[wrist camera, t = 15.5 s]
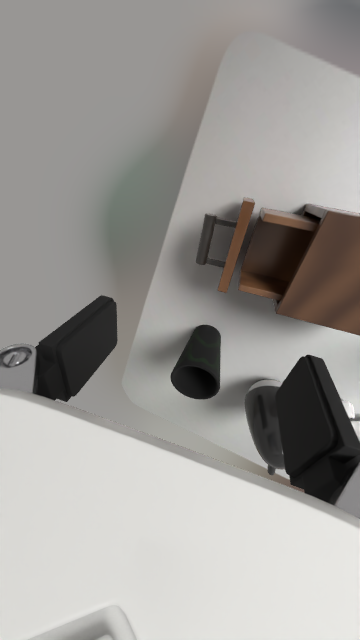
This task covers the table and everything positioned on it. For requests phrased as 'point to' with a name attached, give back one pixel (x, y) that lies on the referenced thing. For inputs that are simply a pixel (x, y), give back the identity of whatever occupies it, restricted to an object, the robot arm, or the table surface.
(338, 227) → the cabinet
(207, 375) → the cup
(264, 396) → the pump dispenser
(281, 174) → the table surface
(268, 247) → the drawer
